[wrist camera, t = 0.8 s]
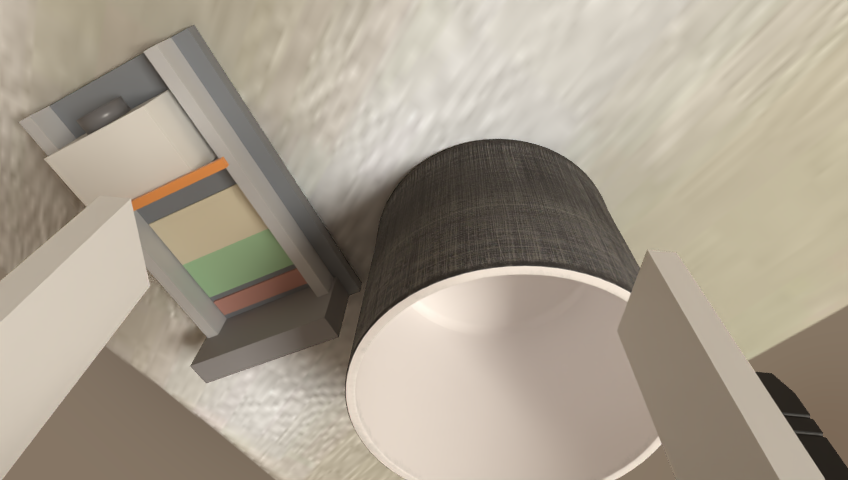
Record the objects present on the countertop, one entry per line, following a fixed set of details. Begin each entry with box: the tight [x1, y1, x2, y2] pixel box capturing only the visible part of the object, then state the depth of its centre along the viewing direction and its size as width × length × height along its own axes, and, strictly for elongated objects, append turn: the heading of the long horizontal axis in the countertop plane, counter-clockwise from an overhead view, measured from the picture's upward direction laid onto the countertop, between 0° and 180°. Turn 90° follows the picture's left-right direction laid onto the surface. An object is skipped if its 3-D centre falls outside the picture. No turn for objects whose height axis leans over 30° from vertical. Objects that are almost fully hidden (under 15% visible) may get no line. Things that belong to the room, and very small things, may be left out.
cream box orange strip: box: [44, 89, 229, 211], centre depth 35 cm, size 6×13×5 cm, turn 115°
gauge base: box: [19, 25, 362, 383], centre depth 38 cm, size 22×14×6 cm, turn 25°
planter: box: [345, 139, 662, 480], centre depth 35 cm, size 18×18×16 cm
